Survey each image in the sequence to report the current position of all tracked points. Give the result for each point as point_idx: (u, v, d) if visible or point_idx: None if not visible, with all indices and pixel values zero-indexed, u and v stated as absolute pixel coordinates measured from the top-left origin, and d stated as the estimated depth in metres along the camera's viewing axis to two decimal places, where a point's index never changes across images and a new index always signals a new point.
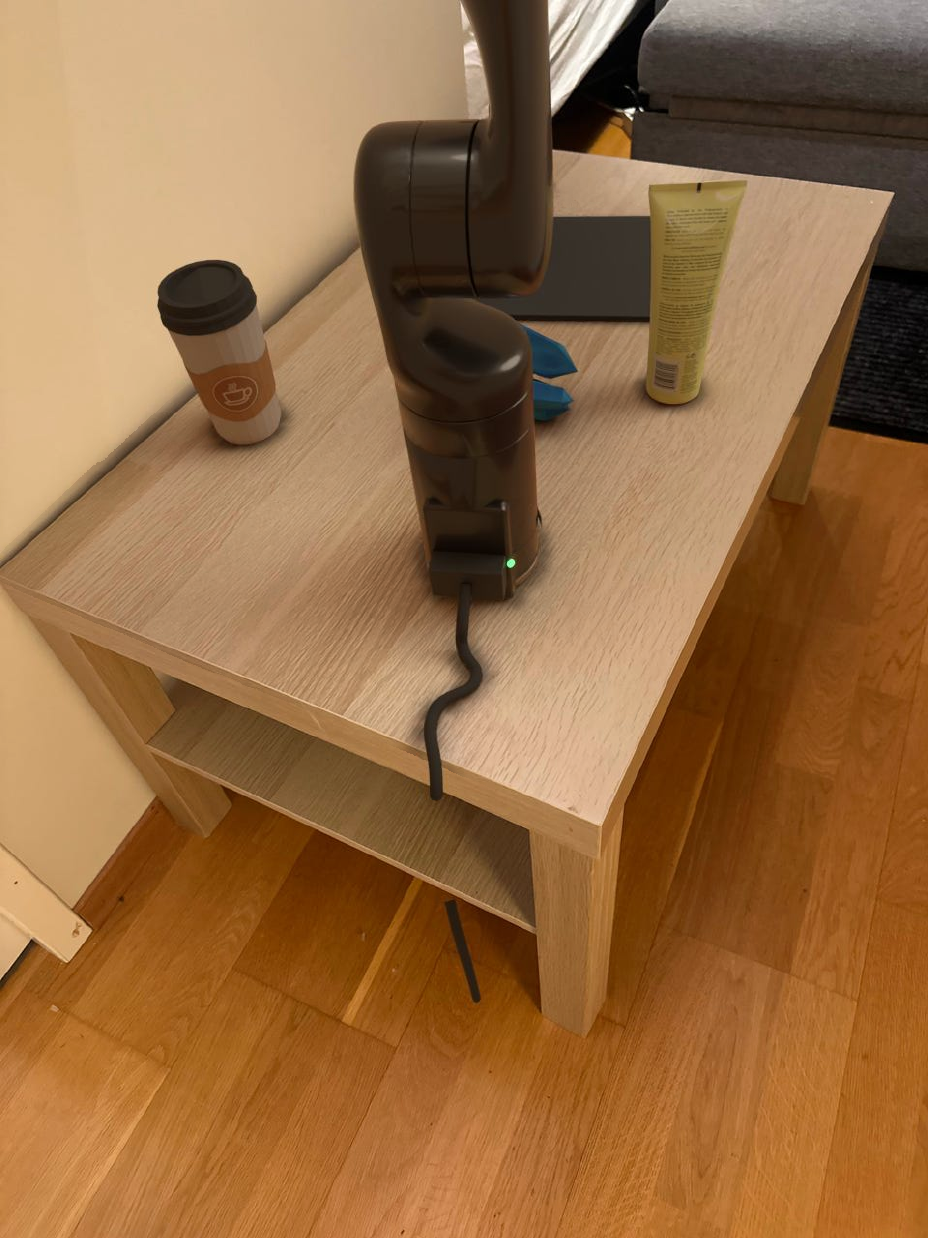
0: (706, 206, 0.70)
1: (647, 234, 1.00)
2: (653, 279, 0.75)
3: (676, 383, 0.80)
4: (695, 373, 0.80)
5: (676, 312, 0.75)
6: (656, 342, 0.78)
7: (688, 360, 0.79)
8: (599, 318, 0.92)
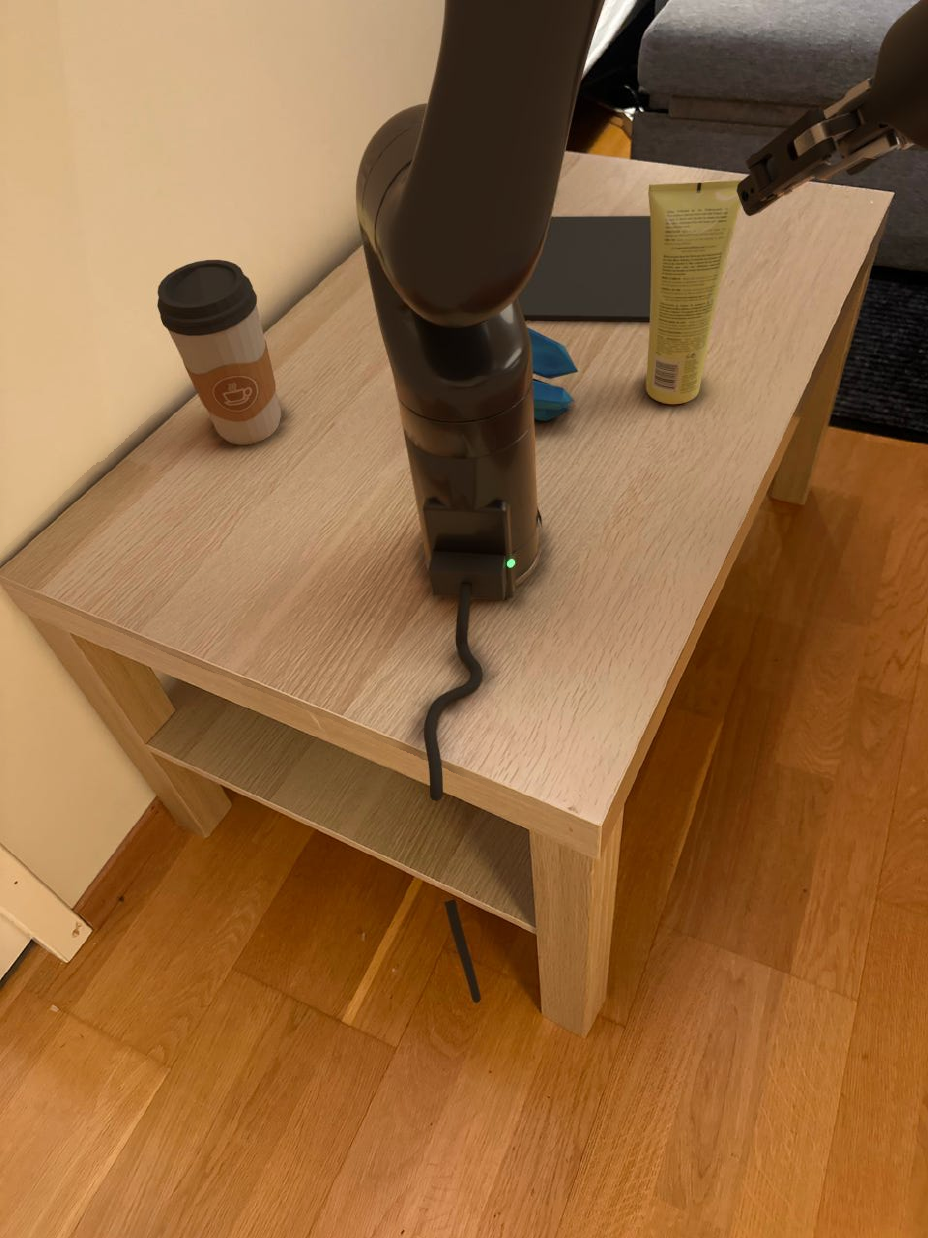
0: (706, 206, 0.70)
1: (647, 234, 1.00)
2: (653, 279, 0.75)
3: (676, 383, 0.80)
4: (695, 373, 0.80)
5: (676, 312, 0.75)
6: (656, 342, 0.78)
7: (688, 360, 0.79)
8: (599, 318, 0.92)
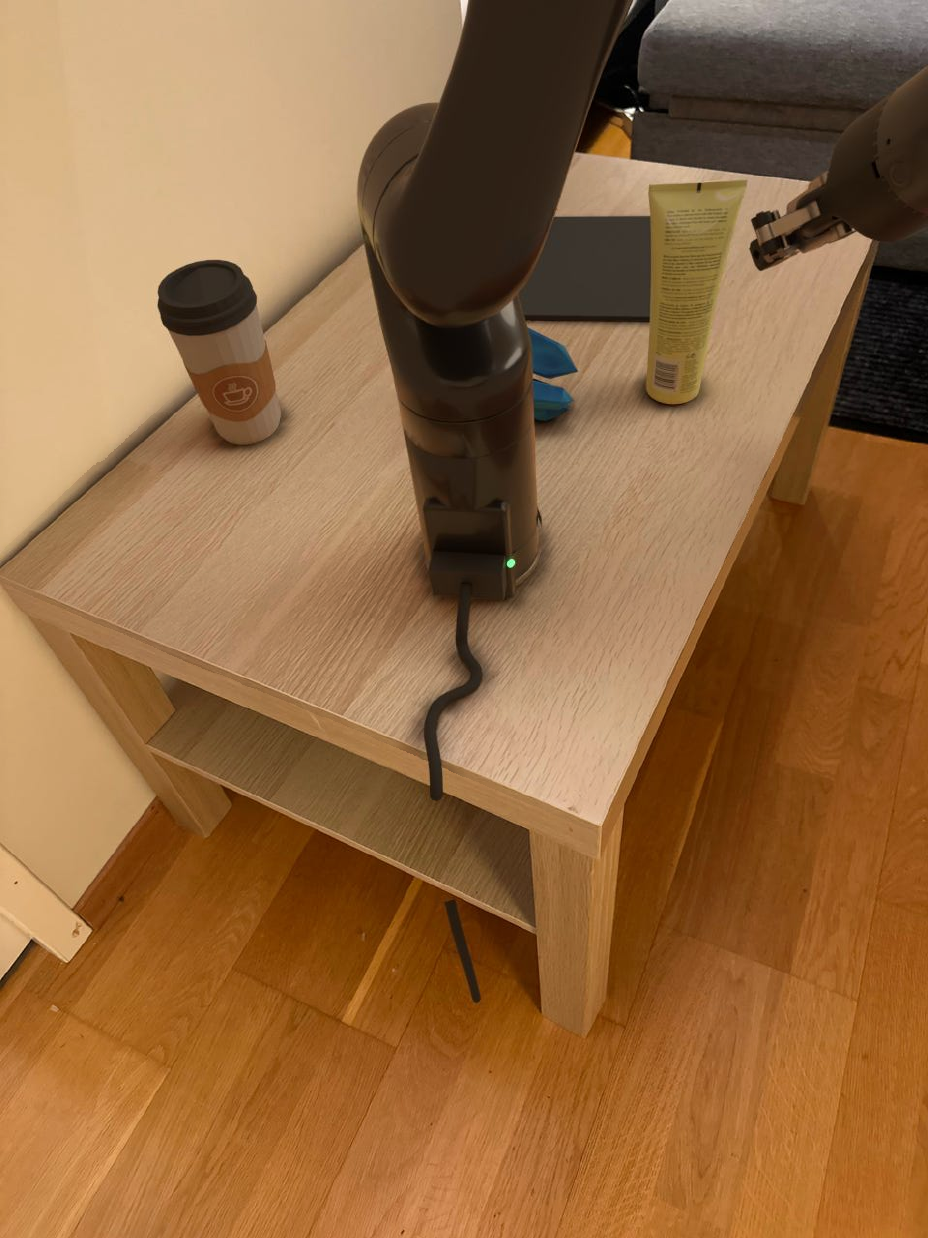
0: (706, 206, 0.70)
1: (647, 234, 1.00)
2: (653, 279, 0.75)
3: (676, 383, 0.80)
4: (695, 373, 0.80)
5: (676, 312, 0.75)
6: (656, 342, 0.78)
7: (688, 360, 0.79)
8: (599, 318, 0.92)
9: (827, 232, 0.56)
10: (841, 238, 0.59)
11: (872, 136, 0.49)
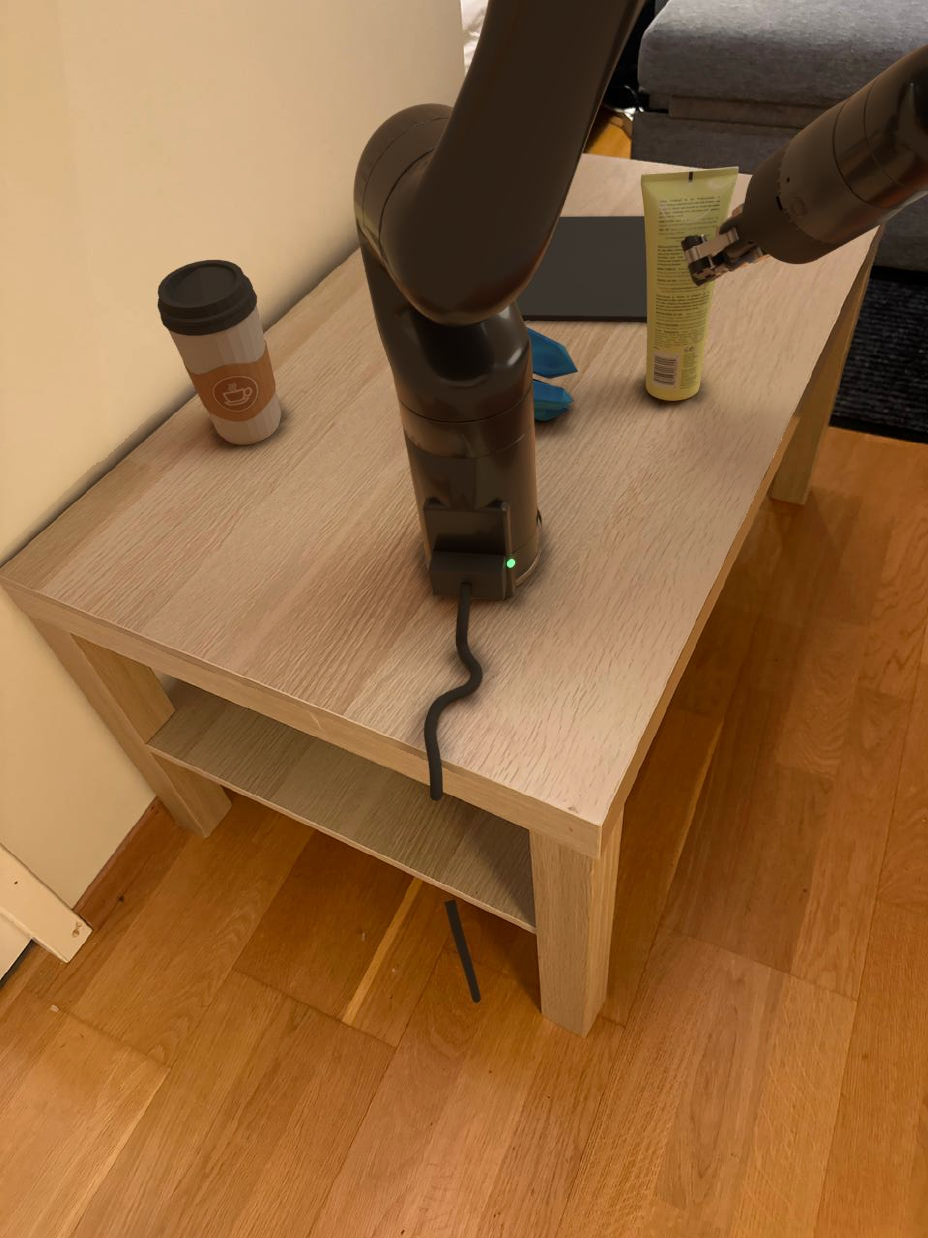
0: (698, 195, 0.71)
1: None
2: (649, 271, 0.75)
3: (676, 378, 0.80)
4: (694, 368, 0.80)
5: (672, 304, 0.76)
6: (654, 336, 0.79)
7: (687, 354, 0.79)
8: (599, 318, 0.92)
9: (748, 254, 0.64)
10: (764, 259, 0.67)
11: (776, 174, 0.56)
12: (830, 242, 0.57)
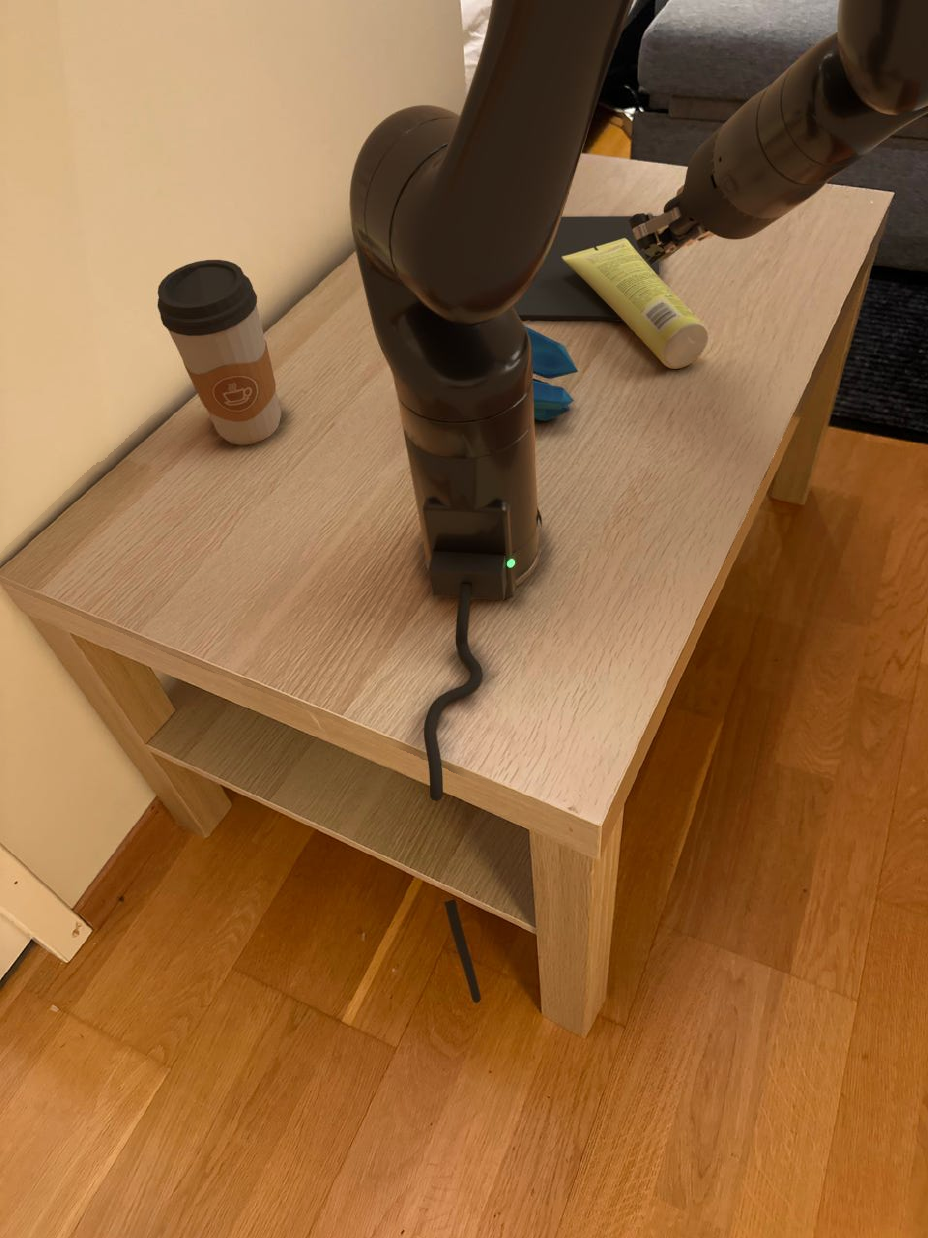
0: (608, 249, 0.94)
1: None
2: (602, 286, 0.90)
3: (674, 311, 0.83)
4: (685, 307, 0.84)
5: (632, 280, 0.88)
6: (635, 306, 0.86)
7: (669, 297, 0.85)
8: (599, 318, 0.92)
9: (692, 231, 0.69)
10: (709, 236, 0.72)
11: (710, 154, 0.61)
12: (761, 217, 0.62)
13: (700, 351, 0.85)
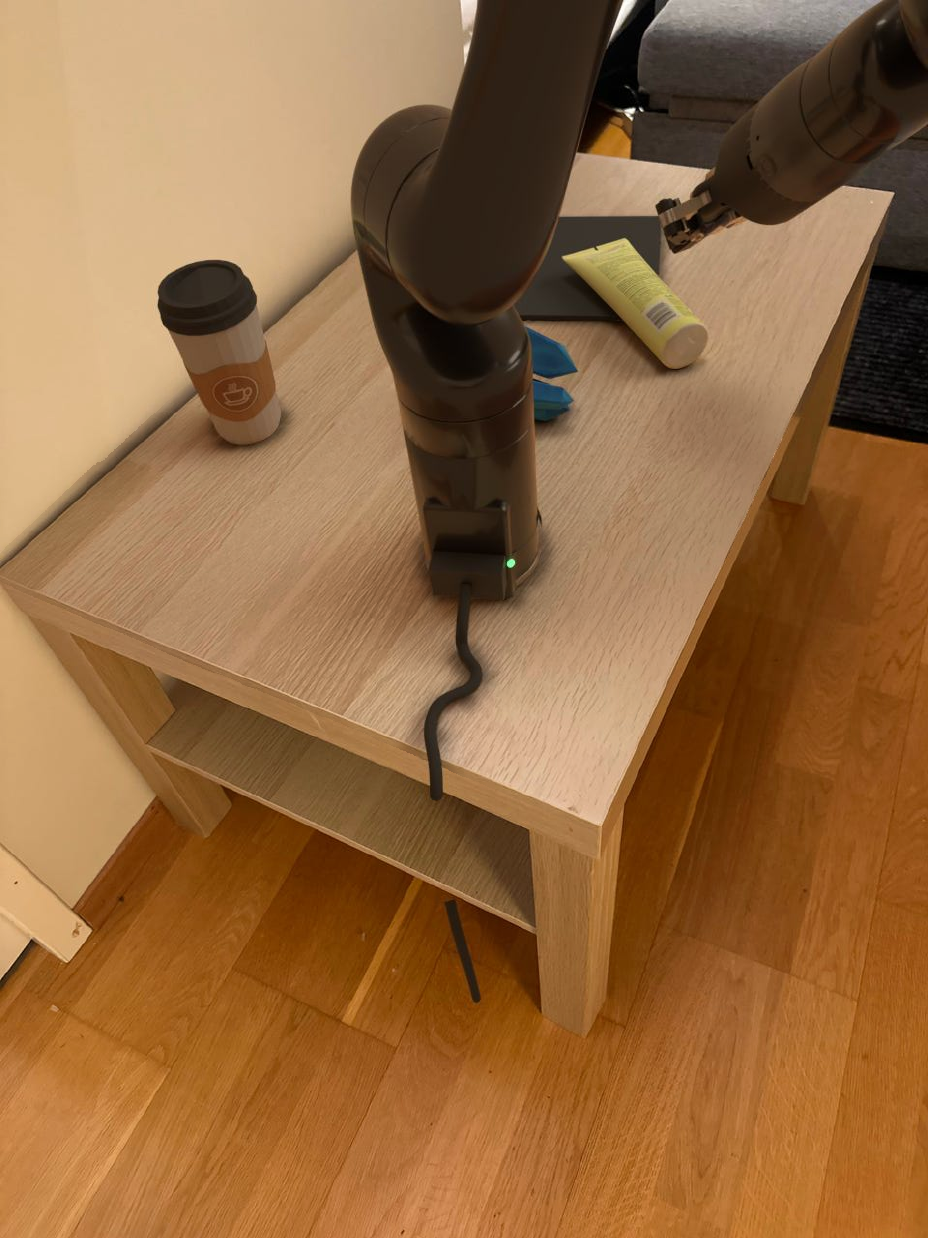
0: (608, 249, 0.94)
1: (647, 234, 1.00)
2: (602, 286, 0.90)
3: (674, 311, 0.83)
4: (686, 307, 0.84)
5: (632, 280, 0.88)
6: (635, 306, 0.86)
7: (669, 297, 0.85)
8: (599, 318, 0.92)
9: (721, 217, 0.65)
10: (738, 223, 0.68)
11: (746, 133, 0.57)
12: (800, 200, 0.58)
13: (700, 351, 0.85)
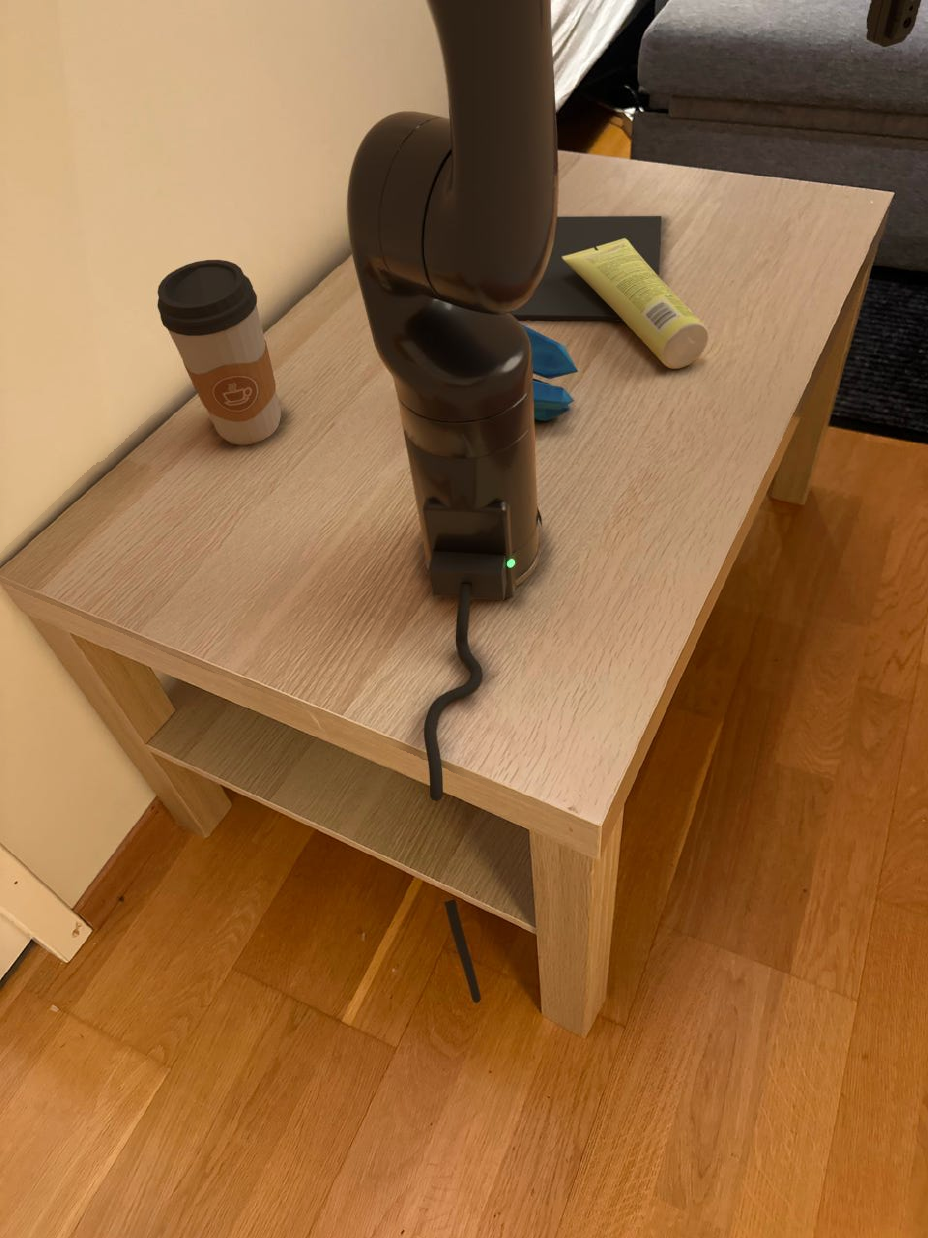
0: (608, 249, 0.94)
1: (647, 234, 1.00)
2: (602, 286, 0.90)
3: (674, 311, 0.83)
4: (686, 307, 0.84)
5: (632, 280, 0.88)
6: (635, 306, 0.86)
7: (669, 297, 0.85)
8: (599, 318, 0.92)
9: None
10: None
11: None
12: None
13: (700, 351, 0.85)
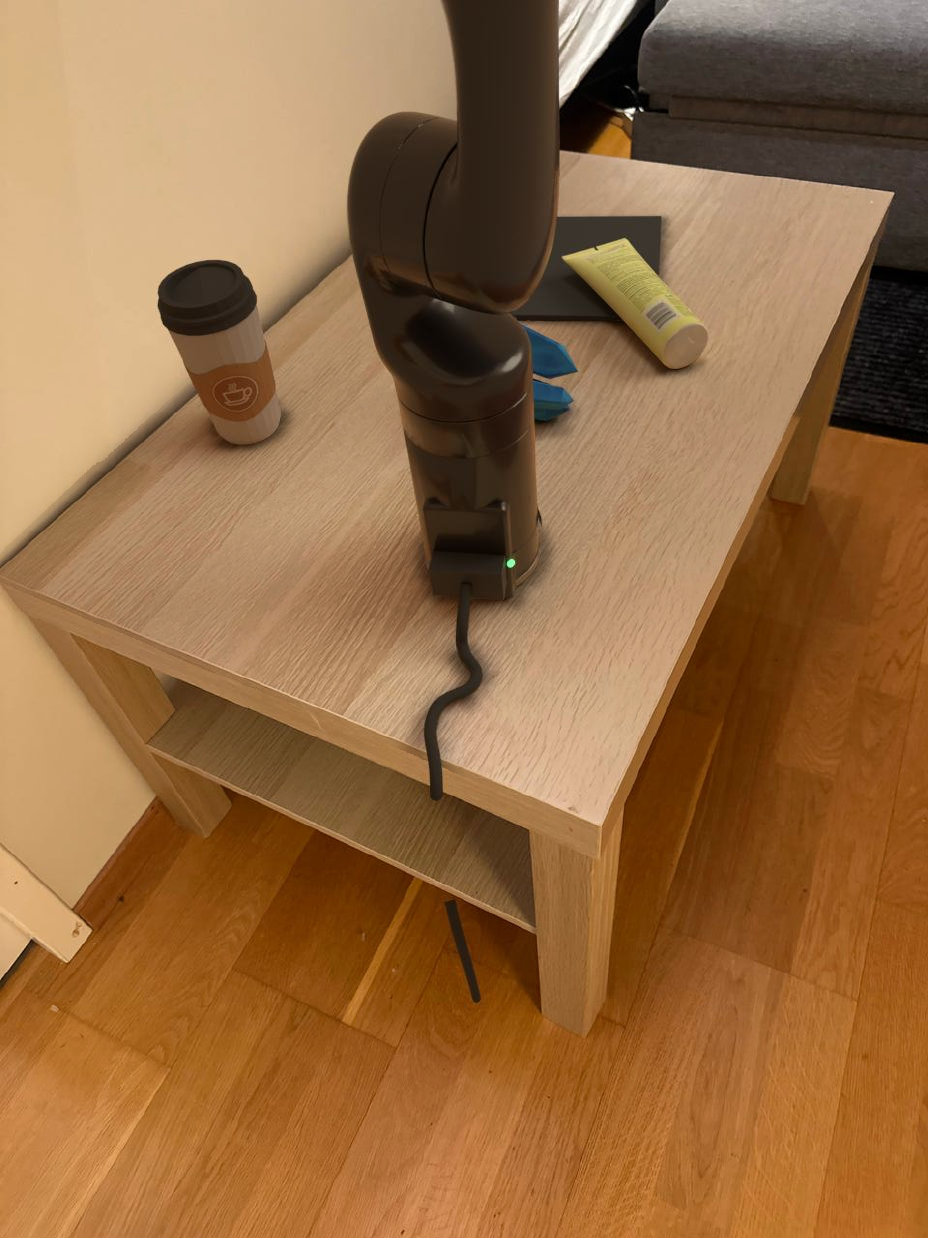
0: (608, 249, 0.94)
1: (647, 234, 1.00)
2: (602, 286, 0.90)
3: (674, 311, 0.83)
4: (686, 307, 0.84)
5: (632, 280, 0.88)
6: (635, 306, 0.86)
7: (669, 297, 0.85)
8: (599, 318, 0.92)
9: None
10: None
11: None
12: None
13: (700, 351, 0.85)
